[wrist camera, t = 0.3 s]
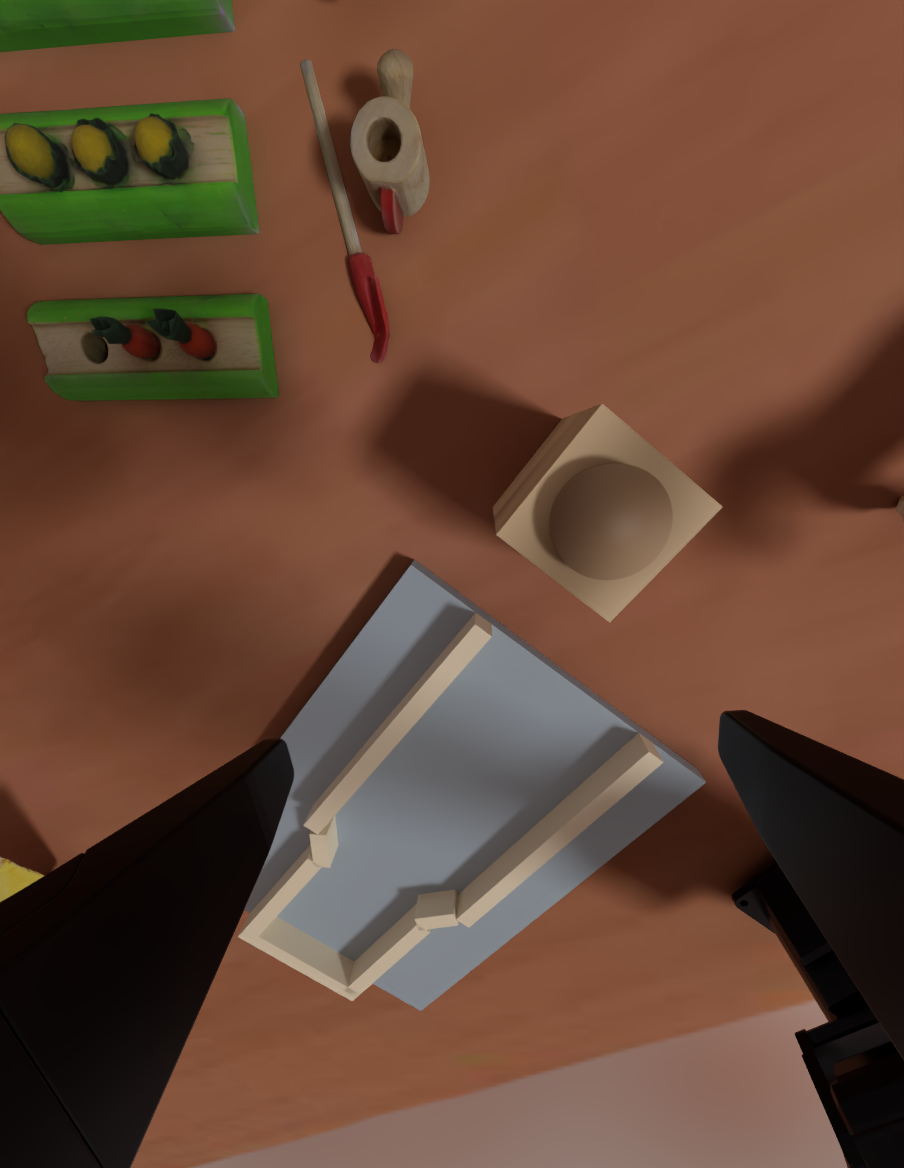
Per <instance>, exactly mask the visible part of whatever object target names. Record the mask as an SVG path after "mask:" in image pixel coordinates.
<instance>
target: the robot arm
mask: <svg viewBox="0 0 904 1168" xmlns="http://www.w3.org/2000/svg"><path fill="white" fill-rule="evenodd" d="M718 751H719V755H720V758H721V760H722V762H723V764H724V766H725V768H726V770H727V772H728V774H729V776H730V778H731V780H732V782H733V784H734V786H735V788H736V790H737V792H738V794H739V796H740V798H741V800H742V802H743V804H744V806H745V808H746V809H747V811H748V813H749V815H750V817H751V819H752V821H753V823H754V825H755V827H756V829H757V831H758V832H759V834H760V836H761V838H762V839H763V841H764V843H765V844H766V846H767V847H768V849H769V851H770V852H771V854H772V855H773V857H774V859H775V860H776V862H777V864H775V865H774V866H772V867H771V868H769V869H768V870H766V871H765V872H764V873H762V874H761V875H759V876H758V877H756V878H755V879H753V880H752V881H751V882H749V883H748V884H746V885H745V886H743V887H742V888H740V889H739V890H737V891H736V892H735V893H734V894H732V900H733V902H734V904H735V905H736V907H737V908H739V909H740V910H742V911H743V912H744V913H746V914H747V915H749V916H750V917H752V918H753V919H754V920H756V921H757V922H759V923H760V924H762V925H763V926H765V927H766V928H767V929H769V930H770V931H772V932H773V933H775V934H776V935H777V937H778V939H779V940H780V942H781V944H782V945H783V947H784V949H785V950H786V952H787V953H788V955H789V957H790V958H791V960H792V962H793V963H794V965H795V967H796V968H797V970H798V972H799V973H800V975H801V977H802V978H803V980H804V982H805V983H806V985H807V987H808V988H809V990H810V992H811V993H812V995H813V997H814V998H815V1000H816V1002H817V1003H818V1005H819V1007H820V1008H821V1010H822V1012H823V1013H824V1015H825V1017H826V1018H827V1020H828V1022H827V1023H825V1024H823V1025H820V1026H818V1027H815V1028H813V1029H810V1030H808V1031H806V1030H805V1029H803V1030H801V1031H798V1032H796V1033H795V1036H796V1038H797V1040H798V1043H799V1045H800V1048H801V1050H802V1052H803V1055H802V1057H803V1060H804V1062H805V1064H806V1067H807V1069H808V1072H809V1074H810V1076H811V1079H812V1081H813V1083H814V1085H815V1088H816V1090H817V1093H818V1095H819V1097H820V1100H821V1102H822V1104H823V1106H824V1109H825V1111H826V1113H827V1116H828V1118H829V1120H830V1123H831V1125H832V1127H833V1130H834V1132H835V1134H836V1137H837V1139H838V1141H839V1143H840V1146H841V1148H842V1151H843V1154H844V1157H845V1161H846V1163H847V1167H848V1168H904V780H903V779H901V778H899V777H897V776H894V775H892V774H890V773H888V772H885V771H883V770H881V769H878V768H876V767H874V766H872V765H869V764H867V763H865V762H862V761H860V760H858V759H856V758H853V757H851V756H849V755H847V754H844V753H842V752H840V751H837V750H835V749H833V748H831V747H828V746H826V745H824V744H822V743H819V742H817V741H815V740H812V739H810V738H808V737H806V736H803V735H801V734H799V733H797V732H794V731H792V730H790V729H787V728H785V727H783V726H781V725H778V724H776V723H774V722H772V721H769V720H767V719H765V718H762V717H760V716H758V715H756V714H753V713H751V712H749V711H746V710H736V711H724V712H723V713H722V714H721V716H720V724H719V739H718ZM293 780H294V768H293V764H292V761H291V757H290V753H289V750H288V746H287V744H286V742H285V740H283V739H266V740H263V741H262V742H260V743H258V744H257V745H255V746H254V747H252V748H250V749H249V750H247V751H246V752H244V753H242V754H241V755H239V756H237V757H236V758H234V759H233V760H231V761H229V762H228V763H226V764H225V765H223V766H221V767H220V768H218V769H216V770H215V771H213V772H212V773H210V774H208V775H207V776H205V777H204V778H202V779H200V780H199V781H197V782H195V783H194V784H192V785H191V786H189V787H187V788H186V789H184V790H183V791H181V792H179V793H178V794H176V795H175V796H173V797H171V798H170V799H168V800H166V801H165V802H163V803H162V804H160V805H158V806H157V807H155V808H154V809H152V810H150V811H149V812H147V813H145V814H144V815H142V816H141V817H139V818H137V819H136V820H134V821H133V822H131V823H129V824H128V825H126V826H124V827H123V828H121V829H120V830H118V831H116V832H115V833H113V834H112V835H110V836H108V837H107V838H105V839H104V840H102V841H100V842H99V843H97V844H95V845H94V846H92V847H91V848H89V849H87V850H86V852H85V854H84V853H81V854H79V855H77V856H76V857H74V858H73V859H71V860H69V861H68V862H66V863H65V864H63V865H61V866H60V867H58V868H57V869H55V870H53V871H52V872H50V873H48V874H47V875H45V876H43V877H42V878H40V879H38V880H37V881H35V882H33V883H32V884H30V885H28V886H27V887H25V888H23V889H22V890H20V891H19V892H17V893H15V894H13V895H12V896H10V897H8V898H6V899H5V900H3V901H1V902H0V1168H131V1165H132V1163H133V1161H134V1159H135V1156H136V1154H137V1152H138V1149H139V1147H140V1145H141V1143H142V1140H143V1138H144V1136H145V1134H146V1131H147V1129H148V1127H149V1125H150V1122H151V1120H152V1118H153V1115H154V1113H155V1111H156V1109H157V1106H158V1104H159V1102H160V1100H161V1097H162V1095H163V1093H164V1091H165V1088H166V1086H167V1084H168V1081H169V1079H170V1077H171V1075H172V1072H173V1070H174V1068H175V1066H176V1063H177V1061H178V1059H179V1056H180V1054H181V1052H182V1050H183V1047H184V1045H185V1043H186V1041H187V1038H188V1036H189V1034H190V1032H191V1029H192V1027H193V1025H194V1022H195V1020H196V1018H197V1016H198V1013H199V1011H200V1009H201V1007H202V1004H203V1002H204V1000H205V998H206V995H207V993H208V991H209V988H210V986H211V984H212V982H213V979H214V977H215V975H216V973H217V970H218V968H219V966H220V963H221V961H222V959H223V957H224V954H225V952H226V950H227V948H228V945H229V943H230V941H231V939H232V936H233V934H234V932H235V929H236V927H237V925H238V923H239V920H240V918H241V916H242V914H243V911H244V909H245V907H246V905H247V902H248V900H249V898H250V895H251V893H252V891H253V889H254V886H255V884H256V882H257V880H258V877H259V875H260V873H261V870H262V868H263V866H264V864H265V861H266V859H267V856H268V854H269V852H270V849H271V846H272V843H273V841H274V838H275V835H276V832H277V829H278V826H279V823H280V820H281V817H282V814H283V811H284V808H285V805H286V802H287V799H288V796H289V793H290V790H291V787H292V784H293Z"/></svg>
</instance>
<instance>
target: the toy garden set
mask: <svg viewBox="0 0 904 1168" xmlns="http://www.w3.org/2000/svg"><path fill="white" fill-rule="evenodd" d="M234 30H235V26H234V18H233V10H232V2H231V0H0V52H8V51H19V50H30V49H41V48H52V47H64V46H75V45H87V44H98V43H110V42H121V41H133V40H144V39H155V38H166V37H178V36H189V35H201V34H212V33H224V32H234ZM300 66H301V70H302V74H303V78H304V82H305V86H306V90H307V94H308V98H309V102H310V105H311V109H312V113H313V117H314V122H315V126H316V130H317V134H318V138H319V142H320V146H321V150H322V154H323V158H324V162H325V166H326V169H327V173H328V177H329V181H330V185H331V188H332V192H333V196H334V200H335V204H336V208H337V212H338V216H339V220H340V224H341V228H342V231H343V235H344V239H345V242H346V246H347V249H348V253H349V261H348V264H349V269H350V274H351V278H352V282H353V285H354V289H355V292H356V295H357V298H358V300H359V303H360V305H361V307H362V309H363V312H364V314H365V316H366V318H367V321H368V323H369V325H370V328H371V330H372V332H373V335H374V336H375V341H374V345H373V349H372V352H371V354H370V358H371V359H372V360H373V361H374V362H376V363H380V362H382V361H383V360H384V358H385V356H386V352H387V346H388V340H389V335H390V332H389V324H388V317H387V312H386V309H385V306H384V301H383V296H382V292H381V288H380V285H379V281H378V278H377V277H375V274H374V271H373V267H372V263H371V258H370V257H369V256H368V255H366V254H364V253H363V252H362V250H361V247H360V244H359V239H358V235H357V232H356V228H355V224H354V220H353V217H352V213H351V209H350V205H349V201H348V198H347V194H346V190H345V187H344V183H343V179H342V175H341V171H340V168H339V164H338V161H337V157H336V153H335V149H334V145H333V141H332V138H331V134H330V130H329V126H328V122H327V119H326V115H325V111H324V107H323V104H322V100H321V96H320V93H319V89H318V85H317V81H316V78H315V74H314V70H313V66H312V63H311V60H304V61H301V64H300ZM377 72H378V76H379V81H380V85H381V90H382V94H383V96H381V97H378V98H374V99H372V100H370V101H368V102H367V103H366V104H365V105H364V106H363V107H362V108H361V109H360V110H359V112H358V114H357V116H356V118H355V120H354V123H353V126H352V128H351V137H350V148H351V153H352V157H353V160H354V163H355V165H356V167H357V169H358V171H359V173H360V175H361V177H362V179H363V182H364V184H365V186H366V188H367V190H368V193H369V195H370V197H371V199H372V201H373V202H374V204H375V205H376V207H377V208H378V209H379V210H380V211H381V217H382V220H383V224H384V228H385V230H386V231H387V232H388V233H389V234H400V232H401V230H402V225H403V217H404V216H411V215H413V214H415V213H416V212H417V211H418V210H419V209H420V208H421V206H422V205H423V204H424V202H425V200H426V197H427V195H428V191H429V184H430V177H429V170H428V165H427V160H426V156H425V151H424V146H423V141H422V137H421V132H420V128H419V125H418V122H417V119H416V117H415V116H414V114H413V113H412V111H411V110H410V99H411V90H412V83H413V75H414V71H413V64H412V62H411V60H410V58H409V57H408V56H407V55H406V54H405V53H404V52H402V51H400V50H397V49H391V50H389V51H387V52H386V53H384V54H383V55H382V56H381V58H380V59H379V61H378V65H377ZM0 211H1V212H2V214H3V215H4V216H5V218H6V219H7V220H8V222H9V223H10V224H11V225H12V226H13V228H14V229H15V230H16V231H17V232H18V233H20V234H21V235H22V236H23V237H25V238H27V239H29V240H31V241H33V242H35V243H38V244H40V245H42V244H63V243H83V242H103V241H123V240H142V239H162V238H183V237H204V236H225V235H245V234H258V233H259V225H258V217H257V209H256V201H255V193H254V185H253V177H252V169H251V161H250V153H249V145H248V137H247V129H246V121H245V115H244V113H243V112H242V110H241V109H240V108H239V106H238V105H237V104H236V103H235V102H234V101H233V100H232V99H229V98H227V99H213V100H199V101H185V102H170V103H155V104H141V105H126V106H111V107H98V108H85V109H72V110H56V111H39V112H22V113H6V114H0ZM27 321H28V323H29V324H30V325H32V327H33V329H34V331H35V334H36V336H37V339H38V343H39V346H40V348H41V350H42V352H43V354H44V356H45V363H46V366H47V369H48V374H47V375H46V376H45V377H44V380H45V382H46V383H47V385H48V386H49V387H50V389H51V390H52V391H54V392H55V393H56V394H58V395H59V396H61V397H62V398H64V399H67V400H75V401H94V400H159V399H225V398H277V397H278V396H279V393H278V386H277V378H276V370H275V361H274V353H273V344H272V336H271V327H270V319H269V311H268V303H267V299H266V298H264V297H263V296H262V295H260V294H237V295H236V294H235V295H201V296H169V297H141V298H111V299H85V300H56V301H40V302H36V303H34V304H33V305H32V306H31V307H30V308H29V310H28V312H27ZM106 343H107V346H108V358H107V357H106V355H105V345H106Z"/></svg>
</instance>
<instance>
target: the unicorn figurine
mask: <svg viewBox="0 0 904 1168" xmlns="http://www.w3.org/2000/svg"><path fill="white" fill-rule="evenodd" d="M896 509H897V512H898V513H899V514H900V515H901V516H902V517H903V522H904V495H902V496H901V497H900V499H899V502H898V505H897V507H896Z"/></svg>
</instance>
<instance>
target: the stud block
mask: <svg viewBox="0 0 904 1168" xmlns="http://www.w3.org/2000/svg"><path fill="white" fill-rule="evenodd" d="M721 508H722V506H721V505H720V504H719V503H718V502H717V501H715V500H714V499H713V498H712V497H711V496H710V495H708V494H707V493H706V492H705V491H704V490H703V489H701V488H700V487H699V486H698V485H697V484H696V483H694V482H693V481H692V480H691V479H690V478H689V477H687V476H686V475H685V474H684V473H683V472H682V471H680V470H679V469H678V468H677V467H676V466H675V465H673V464H672V463H671V462H670V461H669V460H668V459H666V458H665V457H664V456H663V455H662V454H661V453H659V452H658V451H657V450H656V449H655V448H654V447H652V446H651V445H650V444H649V443H648V442H647V441H645V440H644V439H643V438H642V437H641V436H640V435H638V434H637V433H636V432H635V431H634V430H633V429H631V428H630V427H629V426H628V425H627V424H626V423H624V422H623V421H622V420H621V419H620V418H619V417H617V416H616V415H615V414H614V413H613V412H612V411H610V410H609V409H608V408H607V407H606V406H605V405H604V404H600V405H597V406H594V407H592V408H589V409H587V410H584V411H581V412H579V413H576V414H573V415H571V416H568V417H566V418H563V419H561V421H560V422H559V423H558V424H557V426H556V427H555V428H554V430H553V431H552V432H551V433H550V435H549V436H548V437H547V438H546V440H545V441H544V442H543V444H542V445H541V446H540V447H539V449H538V450H537V451H536V453H535V454H534V455H533V456H532V458H531V459H530V460H529V461H528V463H527V464H526V465H525V467H524V468H523V469H522V470H521V472H520V473H519V474H518V475H517V477H516V478H515V479H514V481H513V482H512V483H511V484H510V486H509V487H508V488H507V489H506V491H505V492H504V493H503V495H502V496H501V497H500V498H499V500H498V501H497V502H496V503H495V505H494V506H493V514H494V521H495V529H496V535H497V536H498V537H500V538H501V539H502V540H504V541H505V542H506V543H507V544H509V545H510V546H511V547H513V548H514V549H515V550H516V551H518V552H519V553H520V554H522V555H523V556H524V557H526V558H527V559H528V560H529V561H531V562H532V563H533V564H535V565H536V566H537V567H538V568H540V569H541V570H542V571H544V572H545V573H546V574H548V575H549V576H550V577H551V578H553V579H554V580H555V581H557V582H558V583H559V584H560V585H562V586H563V587H564V588H566V589H567V590H568V591H570V592H571V593H572V594H573V595H575V596H576V597H577V598H579V599H580V600H581V601H582V602H584V603H585V604H586V605H588V606H589V607H590V608H592V609H593V610H594V611H595V612H597V613H598V614H599V615H601V616H602V617H603V618H604V619H606V620H607V621H608V622H611V621H612V620H613V619H614V618H615V617H616V616H617V615H618V614H619V613H620V612H621V611H622V610H623V609H624V608H625V606H626V605H627V604H628V603H629V602H630V601H631V600H632V599H633V598H634V597H635V596H636V595H637V594H638V593H639V592H640V591H641V590H642V589H643V588H644V587H645V586H646V585H647V584H648V583H649V582H650V581H651V580H652V579H653V578H654V577H655V576H656V575H657V574H658V573H659V572H660V571H661V570H662V569H663V568H664V567H665V566H666V565H667V564H668V562H669V561H670V560H671V559H672V558H673V557H674V556H675V555H676V554H677V553H678V552H679V551H680V550H681V549H682V548H683V547H684V546H685V545H686V544H687V543H688V542H689V541H690V540H691V539H692V538H693V537H694V536H695V535H696V534H697V533H698V532H699V531H700V530H701V529H702V528H703V527H704V526H705V525H706V524H707V523H708V522H709V521H710V520H711V518H712V517H713V516H714V515H715V514H716V513H717V512H718V511H719V510H720V509H721Z"/></svg>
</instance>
